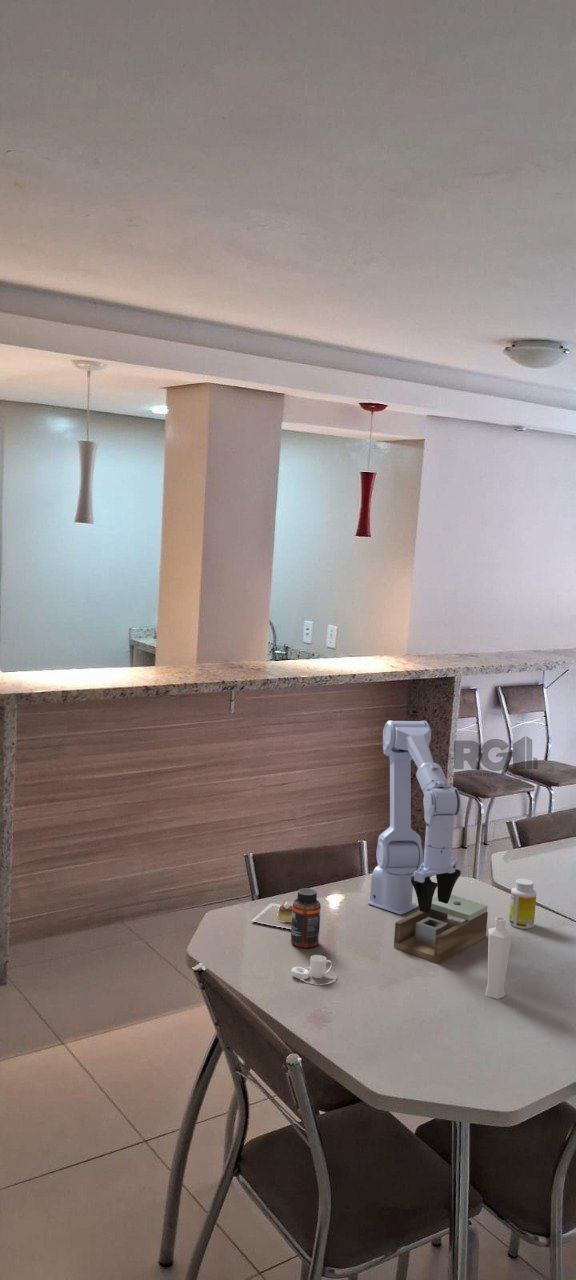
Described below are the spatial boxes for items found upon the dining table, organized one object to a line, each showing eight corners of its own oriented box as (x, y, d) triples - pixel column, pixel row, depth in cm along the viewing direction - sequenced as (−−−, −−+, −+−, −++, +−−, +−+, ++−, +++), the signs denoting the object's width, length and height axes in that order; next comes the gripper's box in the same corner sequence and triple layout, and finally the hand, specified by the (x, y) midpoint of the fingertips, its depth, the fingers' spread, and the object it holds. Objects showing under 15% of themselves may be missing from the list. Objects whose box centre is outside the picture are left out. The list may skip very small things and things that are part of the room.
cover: (426, 907, 219) (426, 900, 219) (444, 898, 225) (445, 891, 225) (469, 921, 213) (469, 914, 212) (487, 911, 219) (487, 904, 219)
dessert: (270, 907, 231) (271, 887, 230) (319, 917, 226) (321, 896, 226) (250, 925, 220) (251, 904, 219) (301, 936, 215) (302, 914, 215)
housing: (393, 947, 211) (395, 922, 210) (442, 921, 226) (444, 898, 226) (438, 963, 204) (440, 937, 203) (486, 936, 219) (487, 912, 219)
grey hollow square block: (414, 941, 212) (415, 923, 211) (426, 934, 215) (428, 916, 215) (434, 948, 208) (436, 929, 208) (447, 941, 212) (448, 923, 212)
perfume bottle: (490, 986, 195) (496, 912, 193) (510, 994, 192) (516, 919, 190) (477, 992, 192) (483, 917, 190) (496, 1001, 188) (502, 925, 187)
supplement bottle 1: (323, 942, 211) (327, 890, 210) (309, 951, 206) (312, 898, 205) (300, 934, 215) (303, 884, 213) (284, 943, 210) (288, 891, 208)
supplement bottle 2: (538, 926, 227) (542, 883, 225) (523, 931, 223) (527, 887, 222) (518, 918, 231) (522, 875, 230) (503, 923, 227) (507, 879, 226)
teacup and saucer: (287, 981, 193) (288, 961, 193) (300, 965, 200) (302, 946, 200) (330, 991, 190) (331, 970, 190) (342, 974, 197) (343, 954, 197)
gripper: (437, 856, 201) (432, 921, 203) (472, 841, 213) (467, 903, 214) (407, 848, 206) (402, 911, 207) (443, 833, 217) (439, 894, 218)
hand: (433, 906), depth 211 cm, fingers open, 7 cm apart
